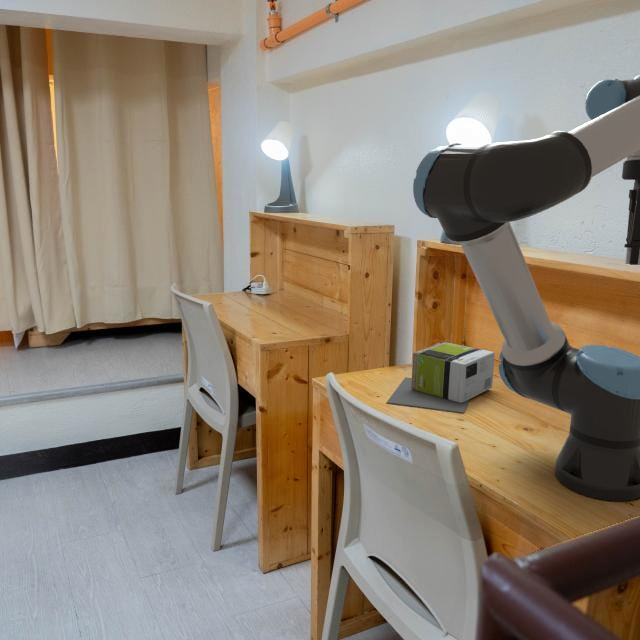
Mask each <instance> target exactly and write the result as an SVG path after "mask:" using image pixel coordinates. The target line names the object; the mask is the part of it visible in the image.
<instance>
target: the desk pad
mask: <svg viewBox="0 0 640 640" xmlns="http://www.w3.org/2000/svg"><path fill="white" fill-rule="evenodd" d="M411 385H412V377H404V378H403V380H402V381H401V382H400V383H399V385H398V387H396V389H395V390H394V391H393V393H392V394H391V396H390V397H389V398H388V400H386V404H388V403H390V405H395V404H396V405H398V406H405V407H412V408H421V409H426V410H428V409H429V410H434V411H442V412H450V413H456V414H457V413H458V414H465V411H466V408H467V406H468V404H469V401H470V399H468V400H467V401H465V402H463V403H459V402H455V401H451V400H448V399H444V398H441V397H437V396H434V395H430V394H427V393H423V392H419V391H416V390H413V389H411Z"/></svg>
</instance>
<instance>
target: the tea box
mask: <svg viewBox="0 0 640 640" xmlns="http://www.w3.org/2000/svg"><path fill="white" fill-rule="evenodd" d="M494 366H495V351H491V350H486V349H480V348H476V347H470V346H467V345H460V344H455V343H452V342H451V343H450V342H447V341H443V342H440V343H438V344H435V345H431V346H429V347H426V348H422V349H420V350H417V351H414V352H413V353H412V366H411V367H412V369H411V378H412V385H411V389H413V390H416V391H419V392H423V393H427V394H430V395H434V396H437V397H441V398H444V399H448V400H451V401H455V402H459V403H463V402H465V401H467V400H468V399H469V400H470V399H473V398H474V397H476V396H479V395H480V394H483V393H484V392H487V391H488V390H490V389H492V388H493V381H494V369H495V367H494Z"/></svg>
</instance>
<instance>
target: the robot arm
mask: <svg viewBox="0 0 640 640" xmlns="http://www.w3.org/2000/svg"><path fill="white" fill-rule="evenodd" d="M584 104H585V105H584V106H585V113H586V115H587V117H588V118H589V119H590V120H588V122H585V123H583V124H582V125H579V126H577V127H576V128H574V129H572V130H570V131H564V130H556V131H553V132H550V133H548V134H546V135H544V136H542V137H539V138H534V139H529V140H518V141H516V140H515V141H501V142H499V141H498V142H484V143H468V144H462V143H458V142H457V143H452V144H449V145H442V146H438V147H436V148H434V149H432V150H430V151H429V152H428V153H427V154H426V155H425V156H424V157H423V158H422V159H421V161H420V163H419V164H418V166H417V167H416V168H417V169H416V170H415V171H416V174H415V178H414V179H413V183H412V187H413V188H412V192H413V194H412V195H413V198H414V199H413V200H414V202H415V204H416V206H417V208H418V210H419V211H420V212H421V213H422V214H424V215H425V216H427V217H429V218H431V219H437V220H438V222H439V223H440V226H441V227H442V230H443V232H444V234H445V236H446V238H447V240H448V241H450V242H452V243H455V244H460V246H461V248H462V250H463V253H464V255H465V257H466V259H467V261H468V263H469V266H470V268H471V271H472V272H473V274H474V276H475V278H476V280H477V283H478V285H479V287H480V289H481V292H482V294H483V296H484V298H485V300H486V302H487V304H488V306H489V309H490V311H491V313H492V315H493V317H494V319H495V321H496V324H497V326H498V329H499V330H500V332H501V334H502V336H503V339H504V341H503V342H502V345H501V351H500V353H499V358H498V359H499V360H500V363H498V365H497V366H498V373H499V375H500V379H501V381H502V382H503V383H504V385H505V386H506V387H507V388H508V389H509V390H510V391H512V392H513V393H515V394H517V395H519V396H521V397H523V398H526V399H529V400H532V401H534V402H538V403H541V404H542V405H545V406H548V407H551V408H554V409H557V410H558V411H562V412H564V413H567V414H569V415H570V423H569V424H570V425H569V433H568V436H567V438H566V440H565V442H564V444H563V446H562V447H561V450H560V452H559V454H558V455H557V458H556V461H555V469H554V476H555V478H556V479H557V480H558V482H559V483H561V484H562V485H563V486H565V487H566V488H567V489H570V490H571V491H573V492H575V493H577V494H581V495H583V496H586V497H588V498H593V499H598V500H602V499H604V500H605V501H609V500H611V502H627V501H628V500H630V501H635V500H634V499H636V500H638V499H637V498H639V497H640V356H638V355H637V354H635V353H632V352H630V351H627V350H625V349H622V348H619V347H614V346H612V347H611V346H610V347H609V346H607V345H602V344H589V345H583V346H581V347H580V348H576V347H573V346H572V345H571V344H570V343H569V340H568V338H567V335H566V333H565V331H564V329H563V328H562V327H561V326H560V325H559V324H557V323H555V322H551V319H550V317H549V315H548V312H547V311H546V308H545V307H546V306H544V303H543V300H542V298H541V296H540V293H539V290H538V288H537V286H536V283H535V281H534V279H533V276H532V274H531V272H530V269H529V266H528V263H527V261H526V258H525V257H524V254H523V252H522V250H521V247H520V244H519V242H518V240H517V237H516V234H515V232H514V230H513V228H512V225H511V222H516V221H520V220H524V219H526V218H527V219H528V218H531V217H532V216H535V215H537V214H539V213H542V212H544V211H547V210H549V209H551V208H553V207H555V206H557V205H560V204H561V203H563V202H565V201H567V200H569V199H570V198H573V197H574V196H576V195H577V194H579V193H581V192H582V191H584V190H585V189H586V188H587V187H588V186H589V184H590V183H591V180H592V178H593V177H594V176H597V175H598V174H600V173H602V172H603V171H605V170H606V169H608V168H610V167H613V166H614V165H616V164H617V163H619V162H621V161H623V160H624V162H622V163H623V165H622V173H621V178H622V180H624V181H625V180H626V181H629V180H630V181H631V180H632V181H634V183H633V188H632V189H629V192H628V199H629V201H628V202H629V203H628V221H627V232H626V239H625V241H626V243H625V244H624V245H623V246H624V248H626V249H625V256H624V257H625V259H624V265H625V264H630V265H640V74H637V75H635V76H634V78H632V79H628V80H627V79H625V80H620V79H619V78H614V79H602V80H600V81H598V82H596V83H595V84H594V85H593V86H592V87H591V88H590V89H589V91H588V93H587V94H586V99H585V102H584ZM625 159H626V160H625ZM639 499H640V498H639ZM604 500H603V501H604Z"/></svg>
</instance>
